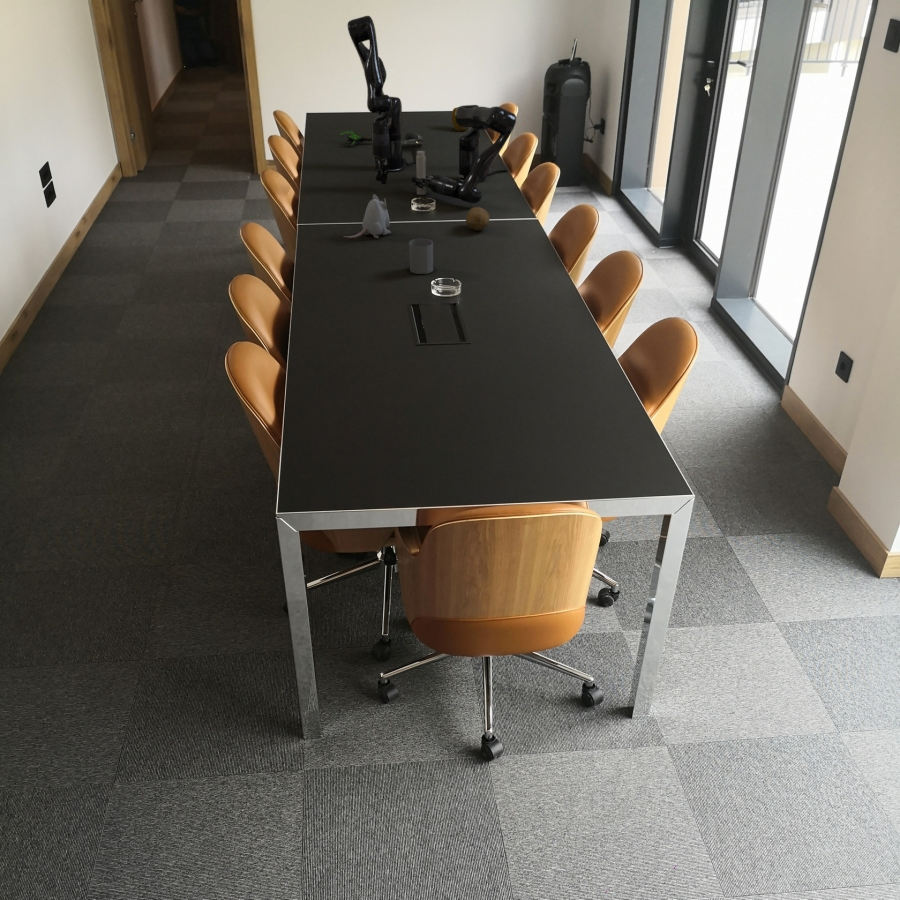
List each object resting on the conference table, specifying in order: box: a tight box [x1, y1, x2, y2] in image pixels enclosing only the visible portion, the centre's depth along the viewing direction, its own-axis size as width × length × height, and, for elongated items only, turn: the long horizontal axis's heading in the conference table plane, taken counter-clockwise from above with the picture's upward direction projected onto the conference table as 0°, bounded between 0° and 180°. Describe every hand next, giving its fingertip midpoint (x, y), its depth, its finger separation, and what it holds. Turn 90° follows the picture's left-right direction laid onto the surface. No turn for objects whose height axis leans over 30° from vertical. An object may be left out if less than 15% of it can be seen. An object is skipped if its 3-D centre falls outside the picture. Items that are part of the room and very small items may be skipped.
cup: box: [408, 237, 434, 275], centre depth 305 cm, size 8×8×10 cm
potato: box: [465, 206, 491, 231], centre depth 344 cm, size 10×14×8 cm
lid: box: [375, 173, 388, 182], centre depth 389 cm, size 5×5×2 cm
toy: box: [343, 193, 392, 239], centre depth 332 cm, size 9×24×15 cm, turn 137°
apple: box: [451, 106, 469, 132], centre depth 487 cm, size 11×11×13 cm
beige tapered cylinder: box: [415, 150, 427, 196], centre depth 383 cm, size 4×4×18 cm
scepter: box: [337, 130, 372, 148], centre depth 462 cm, size 6×13×30 cm
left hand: (382, 182), depth 391 cm, fingers closed on lid, 5 cm apart
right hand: (417, 178), depth 386 cm, fingers closed on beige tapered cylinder, 4 cm apart
